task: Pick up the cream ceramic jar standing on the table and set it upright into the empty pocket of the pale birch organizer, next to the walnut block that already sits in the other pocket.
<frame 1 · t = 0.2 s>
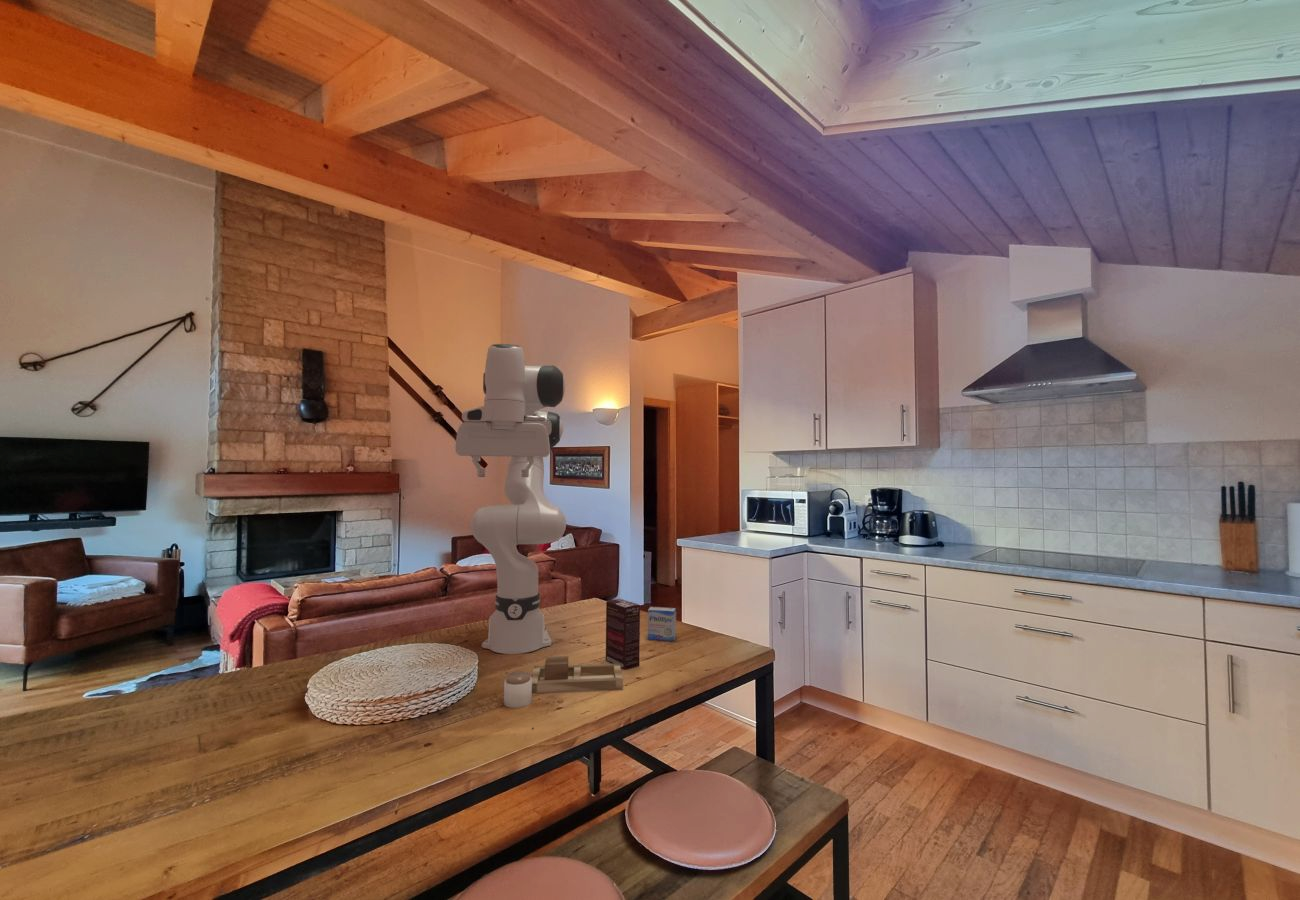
hand: (503, 477, 117), 47 cm above the table, fingers open, 8 cm apart
medicine box: (661, 639, 154), on the table
cream ceramic jar: (517, 706, 109), on the table
organizer: (577, 686, 119), on the table
walnut block: (556, 682, 119), point 1 cm above the table, touching organizer
supplement box: (622, 667, 131), on the table
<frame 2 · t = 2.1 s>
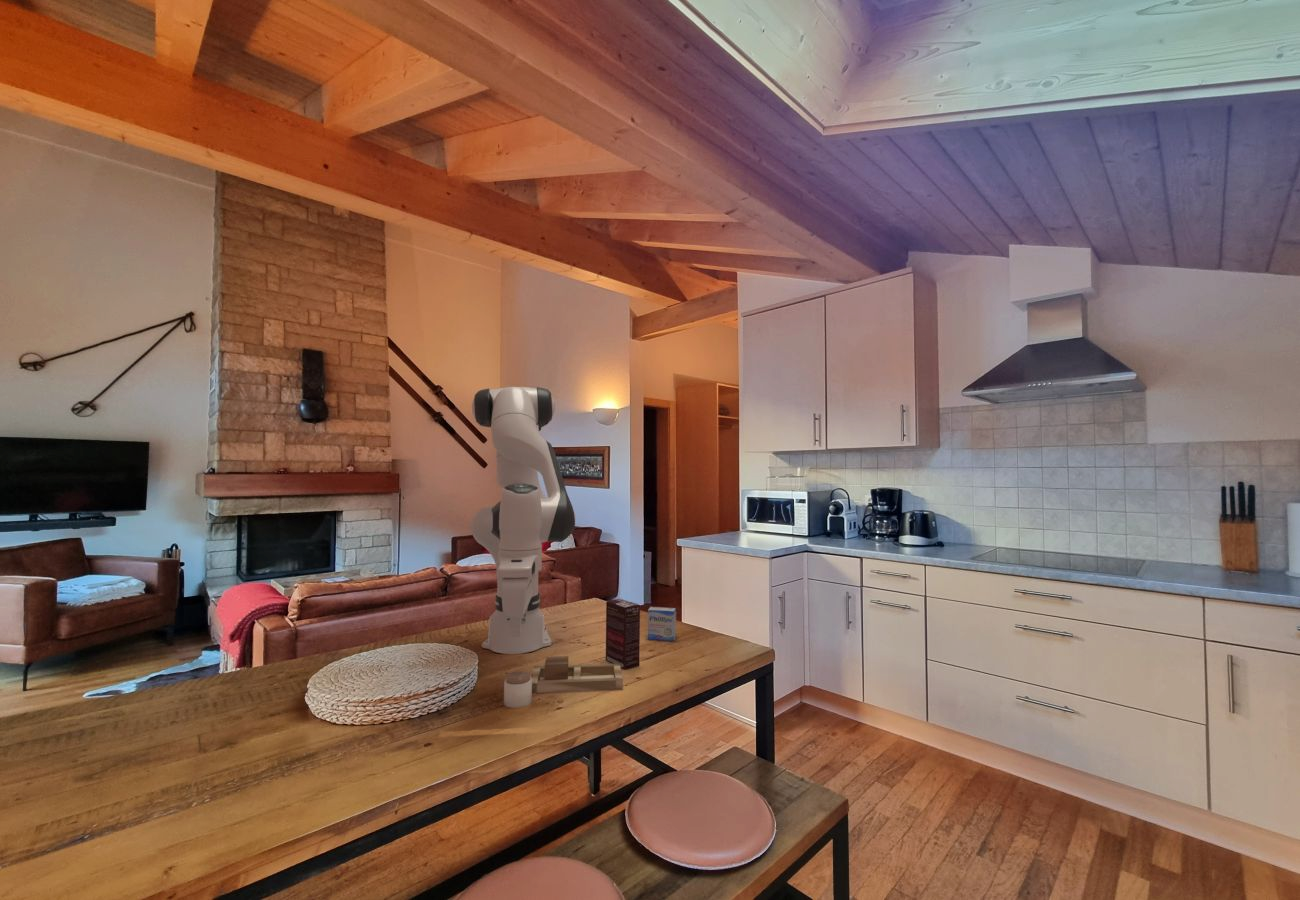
hand: (519, 629, 109), 16 cm above the table, fingers open, 8 cm apart
nothing on the table moved.
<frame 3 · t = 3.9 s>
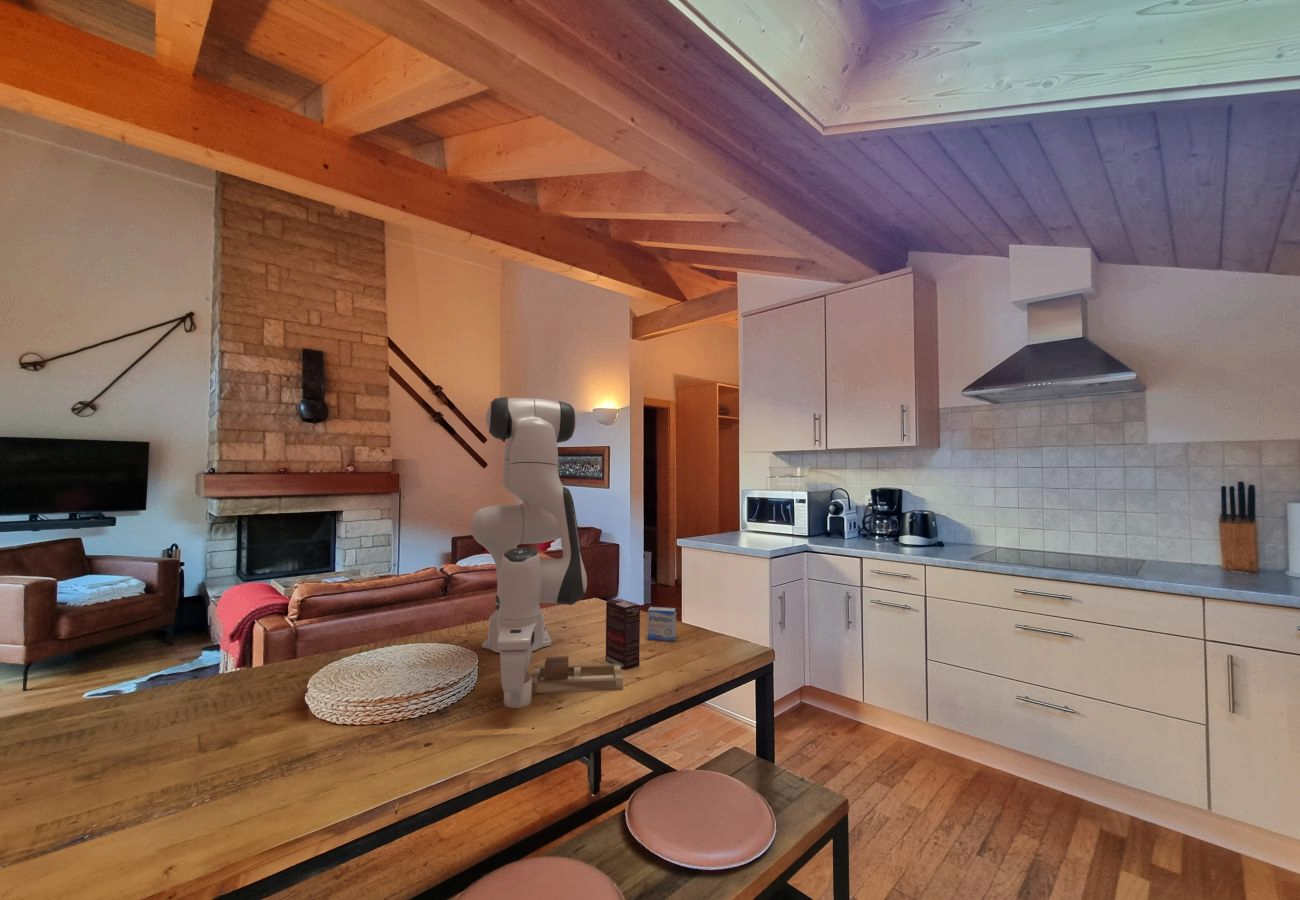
hand: (518, 696, 109), 2 cm above the table, fingers closed on cream ceramic jar, 6 cm apart
cream ceramic jar: (517, 706, 109), on the table, touching gripper
everything else where it was.
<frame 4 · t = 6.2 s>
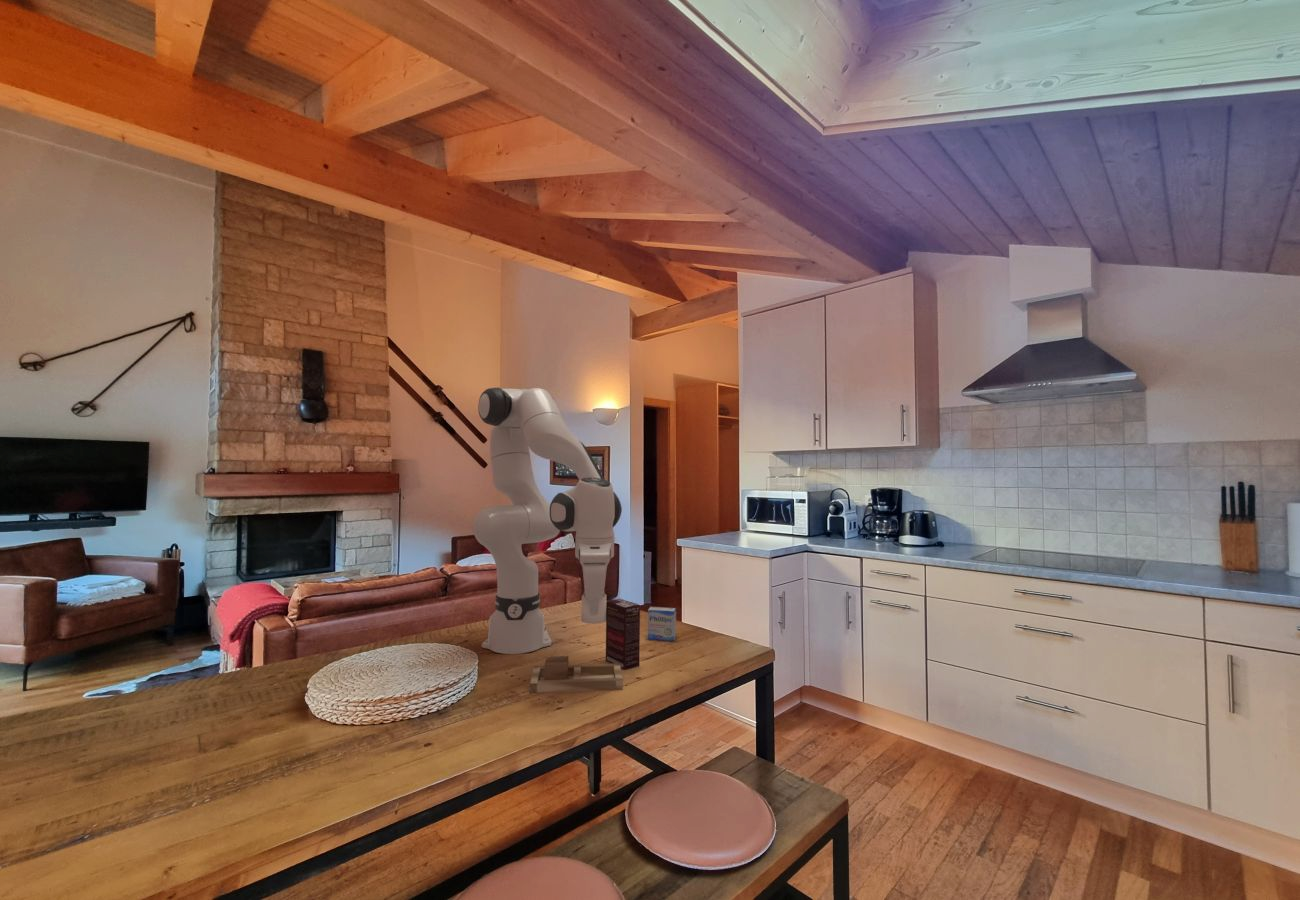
hand: (593, 610, 120), 17 cm above the table, fingers closed on cream ceramic jar, 6 cm apart
cream ceramic jar: (593, 619, 120), point 15 cm above the table, touching gripper
everything else where it was.
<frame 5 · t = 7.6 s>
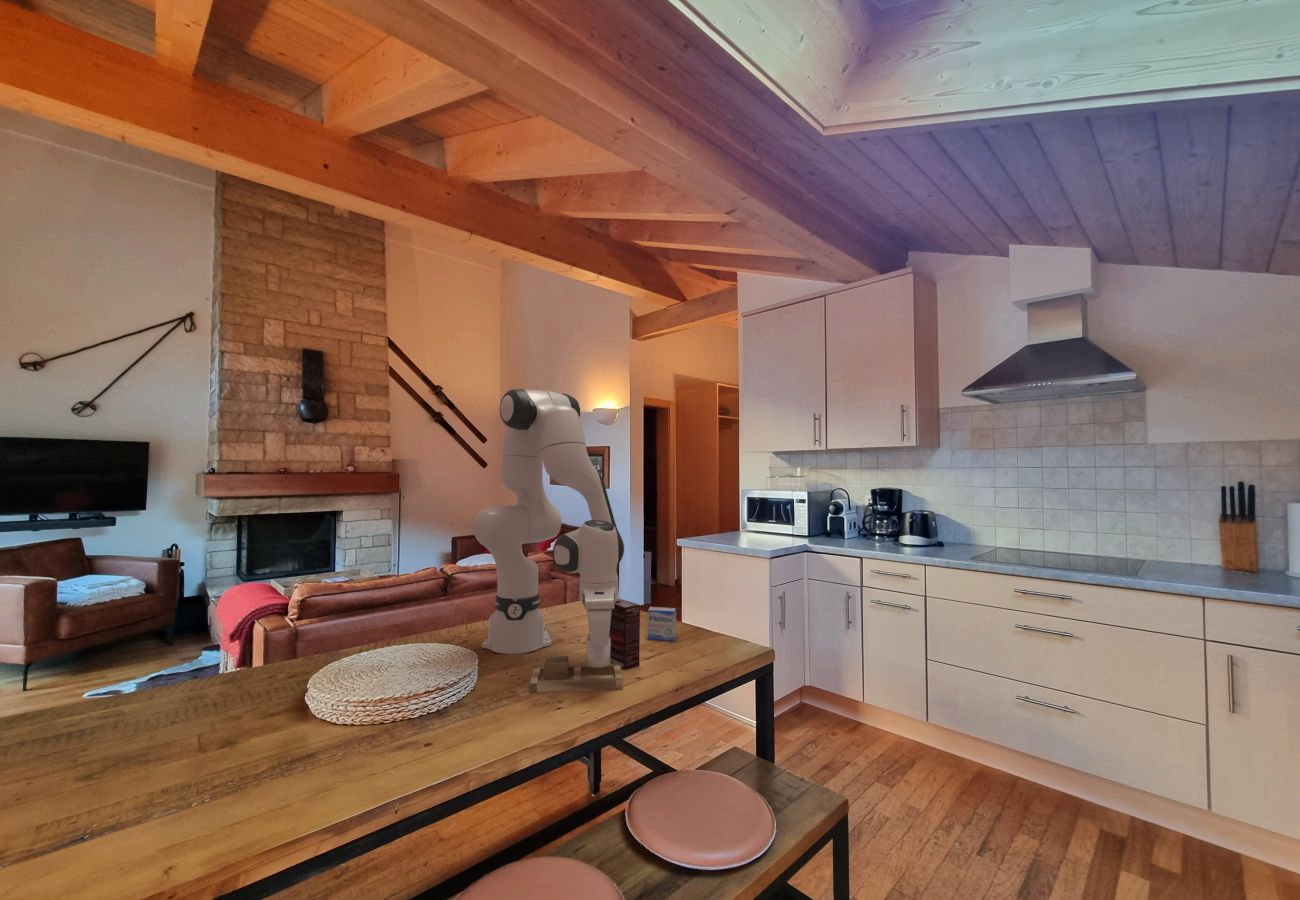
hand: (597, 653, 120), 7 cm above the table, fingers closed on cream ceramic jar, 6 cm apart
cream ceramic jar: (598, 663, 120), point 5 cm above the table, touching gripper
everything else where it was.
when the fingers open (4 cm above the table, at t = 8.6 s): cream ceramic jar drops 1 cm, resting on organizer.
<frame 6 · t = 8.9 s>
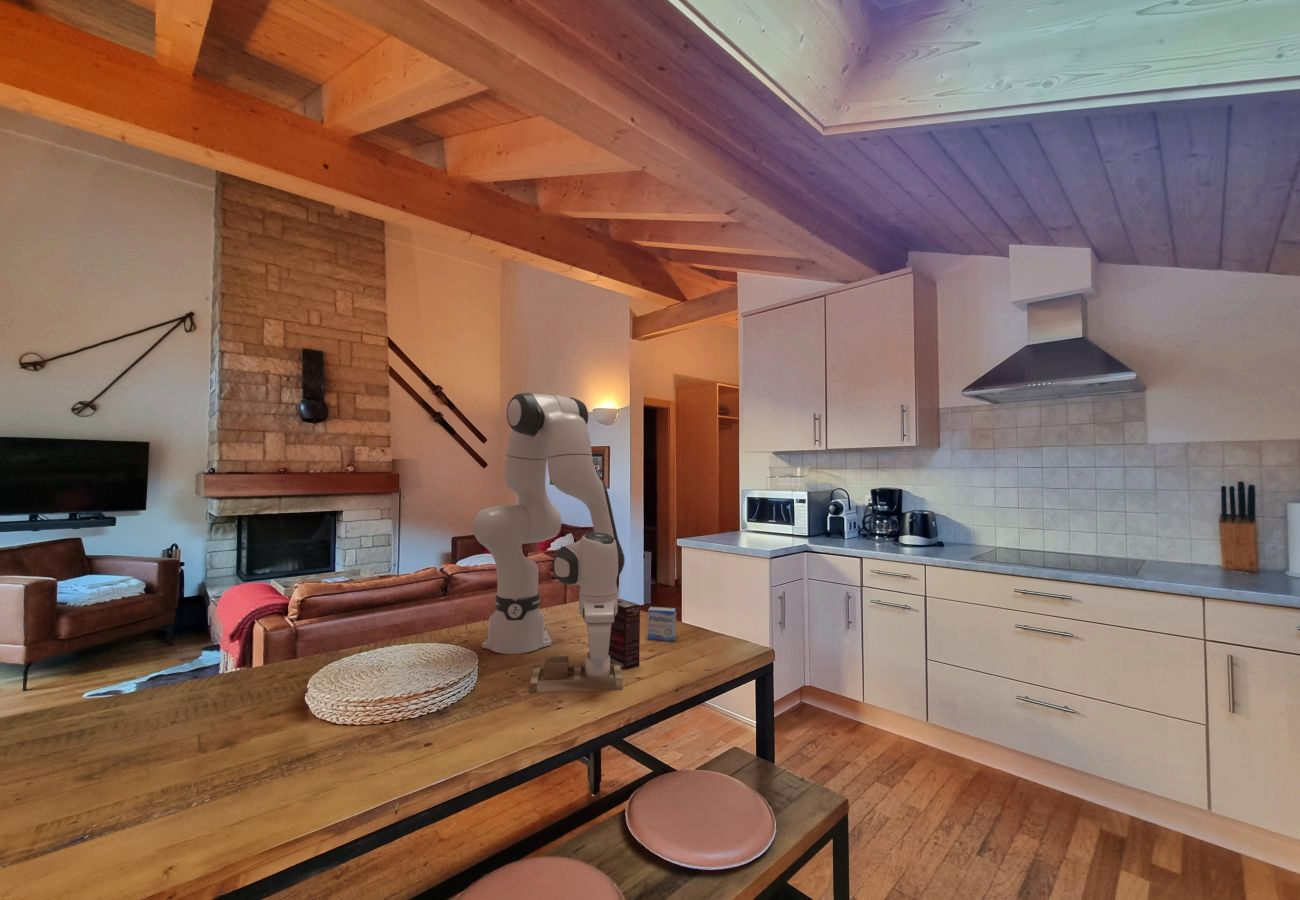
hand: (597, 666, 120), 4 cm above the table, fingers open, 8 cm apart
cream ceramic jar: (597, 681, 120), point 1 cm above the table, touching organizer
everything else where it was.
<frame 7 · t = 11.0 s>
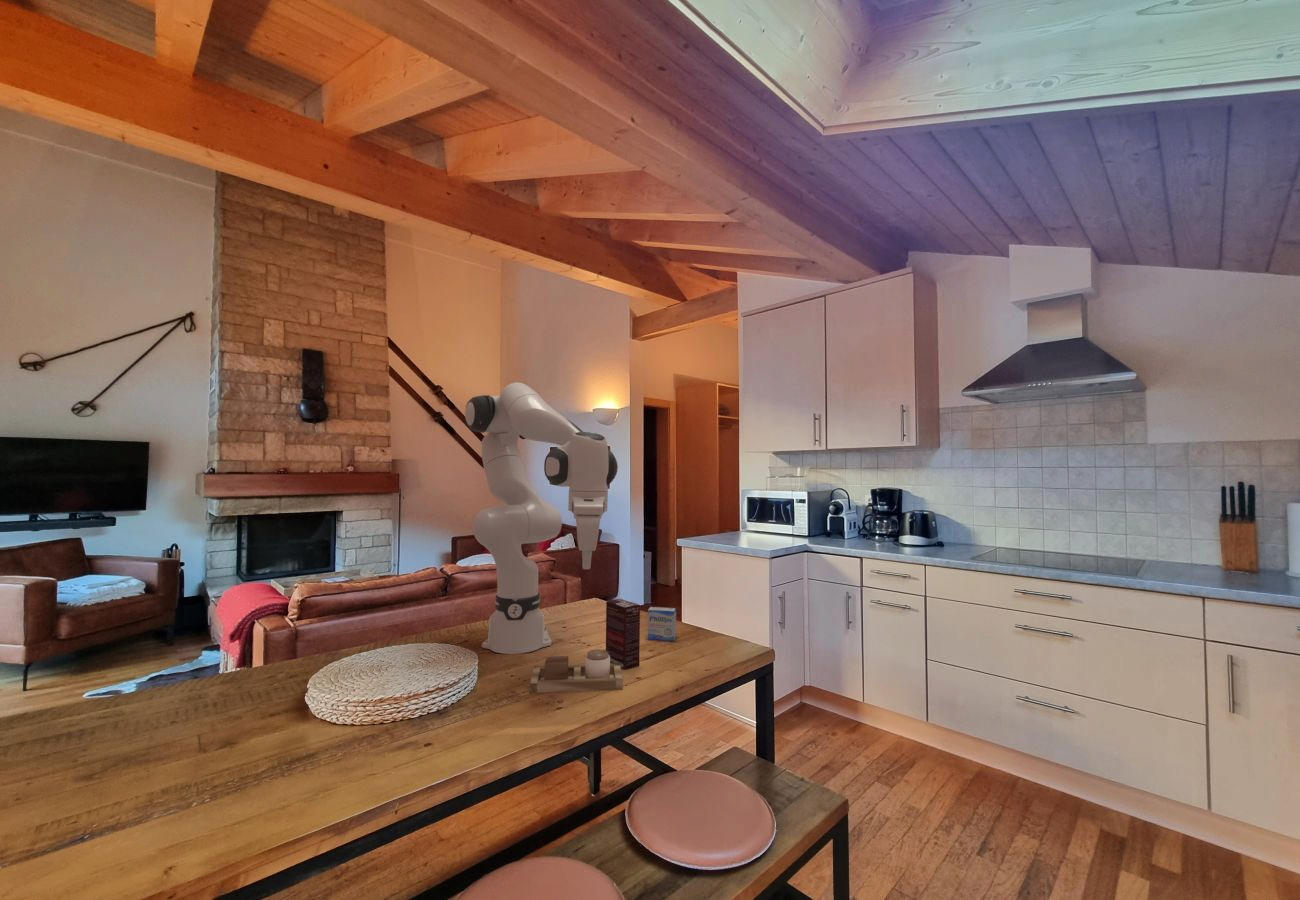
hand: (586, 564, 120), 28 cm above the table, fingers open, 8 cm apart
nothing on the table moved.
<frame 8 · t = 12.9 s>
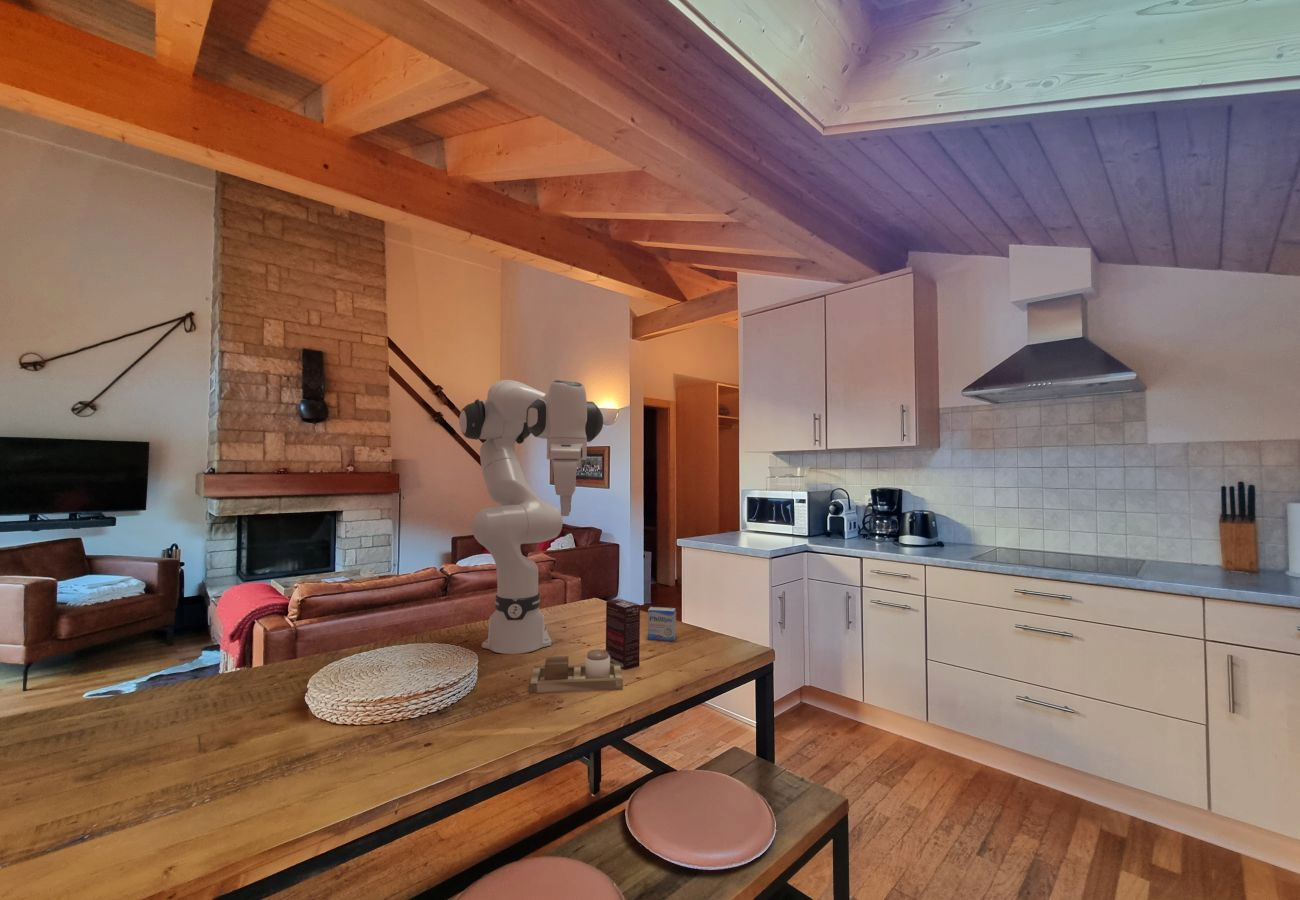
hand: (566, 514, 117), 39 cm above the table, fingers open, 8 cm apart
nothing on the table moved.
at the end: cream ceramic jar 0.2 cm from the target spot on the organizer, point 1.0 cm above the organizer's base; cream ceramic jar tilted 0°; the gripper is holding nothing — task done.
